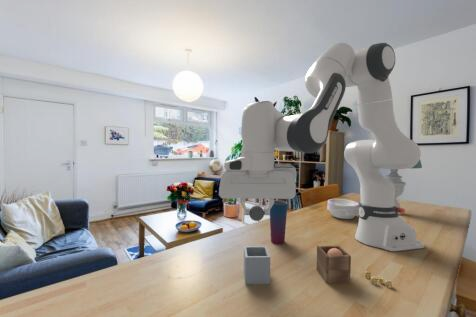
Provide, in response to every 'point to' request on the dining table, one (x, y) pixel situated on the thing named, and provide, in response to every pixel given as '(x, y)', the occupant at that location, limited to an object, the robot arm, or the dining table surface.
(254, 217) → the charcoal ball
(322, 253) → the walnut tube
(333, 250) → the terracotta ball
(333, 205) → the white purple floral bowl
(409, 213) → the dining table surface
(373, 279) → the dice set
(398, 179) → the table lamp
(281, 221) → the cup
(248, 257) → the grey square open box
